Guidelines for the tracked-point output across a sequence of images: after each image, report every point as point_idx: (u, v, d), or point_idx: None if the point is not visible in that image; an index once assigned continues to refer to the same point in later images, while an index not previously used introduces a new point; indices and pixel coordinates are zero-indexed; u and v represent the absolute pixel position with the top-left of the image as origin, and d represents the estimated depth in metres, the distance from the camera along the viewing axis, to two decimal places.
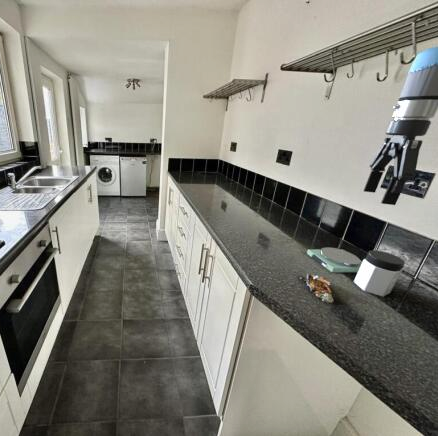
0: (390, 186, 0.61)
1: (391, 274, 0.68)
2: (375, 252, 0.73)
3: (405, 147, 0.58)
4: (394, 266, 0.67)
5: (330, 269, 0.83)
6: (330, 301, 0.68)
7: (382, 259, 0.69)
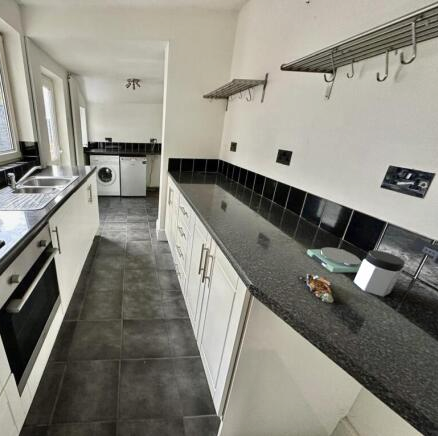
0: None
1: (391, 274, 0.68)
2: (375, 252, 0.73)
3: None
4: (394, 266, 0.67)
5: (330, 269, 0.83)
6: (330, 301, 0.68)
7: (382, 259, 0.69)
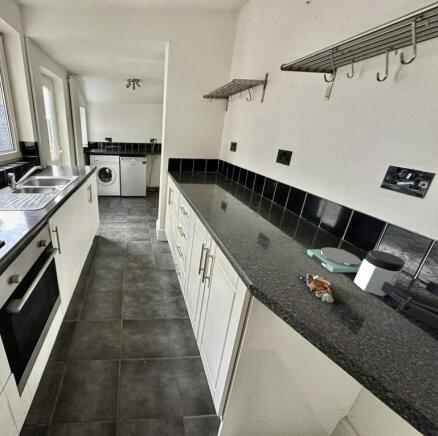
0: None
1: (391, 274, 0.68)
2: (375, 252, 0.73)
3: None
4: (394, 266, 0.67)
5: (330, 269, 0.83)
6: (330, 301, 0.68)
7: (382, 259, 0.69)
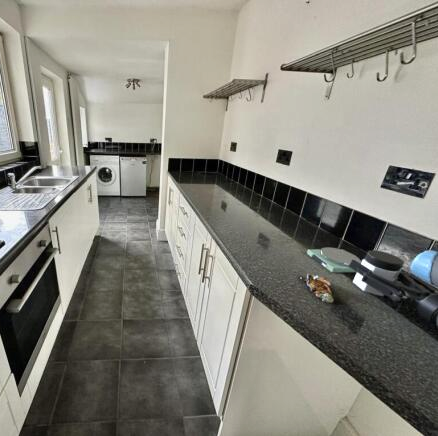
0: None
1: (391, 274, 0.68)
2: (374, 252, 0.73)
3: None
4: (394, 266, 0.67)
5: (330, 269, 0.83)
6: (330, 301, 0.68)
7: (382, 259, 0.69)
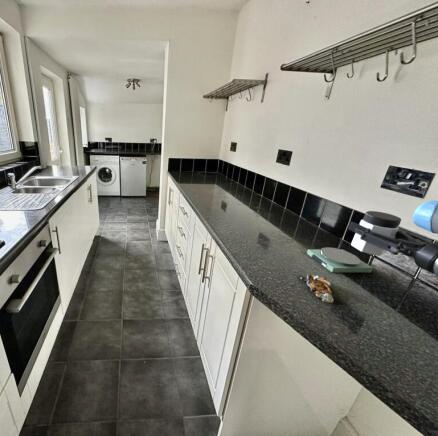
0: None
1: (389, 231, 0.69)
2: (372, 212, 0.74)
3: None
4: (391, 223, 0.68)
5: (330, 269, 0.83)
6: (330, 301, 0.68)
7: (380, 217, 0.70)
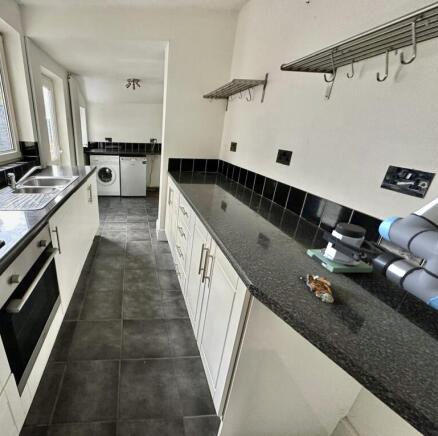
0: None
1: (355, 241, 0.80)
2: (342, 224, 0.85)
3: None
4: (357, 234, 0.79)
5: (330, 269, 0.83)
6: (330, 301, 0.68)
7: (347, 228, 0.81)
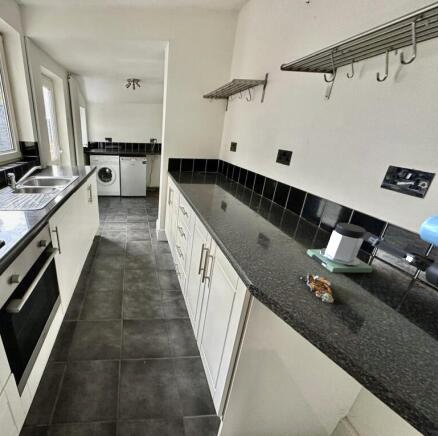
0: None
1: (355, 241, 0.80)
2: (342, 224, 0.85)
3: None
4: (357, 234, 0.79)
5: (330, 269, 0.83)
6: (330, 301, 0.68)
7: (347, 228, 0.81)
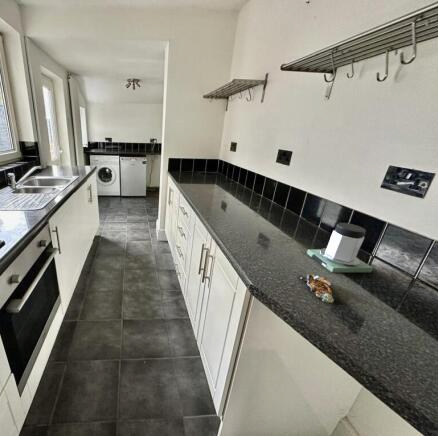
0: None
1: (355, 241, 0.80)
2: (342, 224, 0.85)
3: None
4: (357, 234, 0.79)
5: (330, 269, 0.83)
6: (330, 301, 0.68)
7: (347, 228, 0.81)
